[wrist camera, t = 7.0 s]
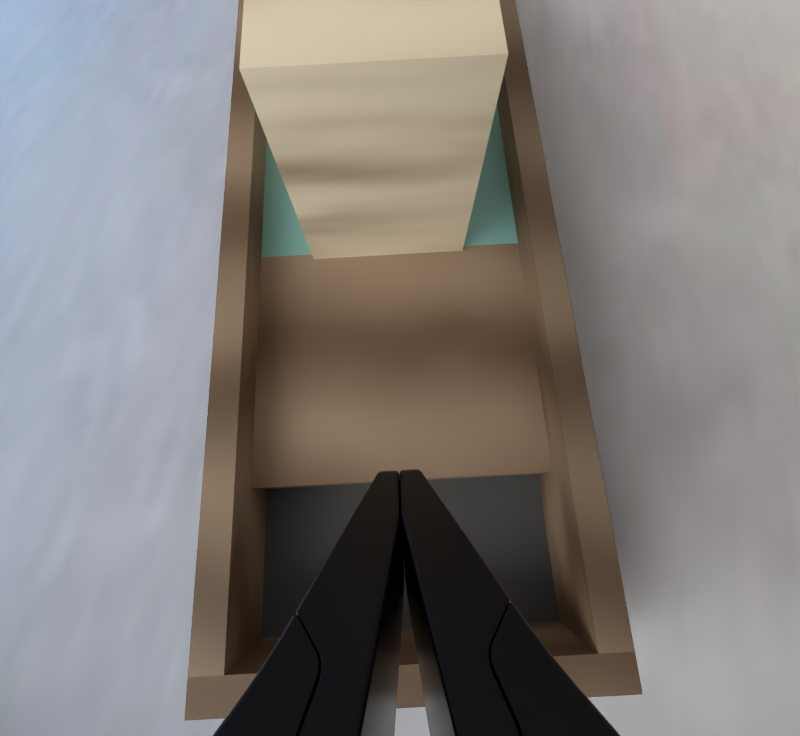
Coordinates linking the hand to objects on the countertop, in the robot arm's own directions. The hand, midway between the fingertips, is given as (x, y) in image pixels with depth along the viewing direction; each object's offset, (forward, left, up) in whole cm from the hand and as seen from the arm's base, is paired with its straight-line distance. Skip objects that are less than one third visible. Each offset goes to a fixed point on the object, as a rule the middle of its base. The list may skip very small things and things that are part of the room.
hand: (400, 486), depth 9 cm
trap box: (+8, -6, -8) cm, 13 cm away
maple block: (+11, -8, -6) cm, 15 cm away
